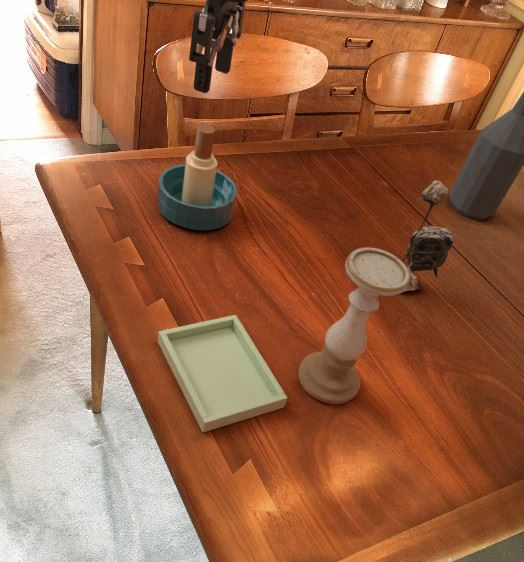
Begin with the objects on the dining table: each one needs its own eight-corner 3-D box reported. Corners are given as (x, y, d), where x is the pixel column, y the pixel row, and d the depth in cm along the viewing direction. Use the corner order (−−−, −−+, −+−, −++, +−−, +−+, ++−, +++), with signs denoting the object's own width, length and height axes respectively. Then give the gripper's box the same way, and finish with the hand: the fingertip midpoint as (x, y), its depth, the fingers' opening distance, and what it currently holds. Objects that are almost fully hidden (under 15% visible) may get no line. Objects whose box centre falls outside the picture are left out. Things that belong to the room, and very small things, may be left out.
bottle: (501, 218, 118) (589, 74, 96) (468, 223, 114) (552, 73, 92) (471, 191, 124) (548, 49, 102) (438, 194, 119) (510, 47, 98)
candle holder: (327, 347, 81) (375, 235, 67) (370, 387, 78) (431, 278, 63) (284, 371, 77) (326, 256, 62) (328, 415, 73) (384, 304, 58)
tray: (157, 341, 76) (158, 331, 74) (233, 324, 81) (235, 314, 79) (202, 432, 67) (204, 423, 66) (284, 407, 72) (287, 397, 71)
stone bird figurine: (431, 306, 93) (490, 204, 79) (366, 284, 93) (414, 179, 79) (433, 277, 99) (489, 178, 84) (372, 257, 99) (418, 154, 85)
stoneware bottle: (176, 209, 96) (184, 129, 85) (187, 195, 99) (197, 117, 89) (204, 219, 95) (215, 140, 85) (214, 205, 99) (227, 127, 89)
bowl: (144, 216, 94) (145, 190, 90) (175, 180, 103) (178, 156, 99) (216, 242, 93) (221, 217, 89) (242, 204, 102) (247, 180, 98)
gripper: (220, -67, 75) (205, 58, 87) (178, -49, 65) (168, 89, 77) (272, -50, 75) (250, 73, 86) (238, -30, 65) (218, 106, 76)
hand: (211, 81), depth 82 cm, fingers open, 8 cm apart
